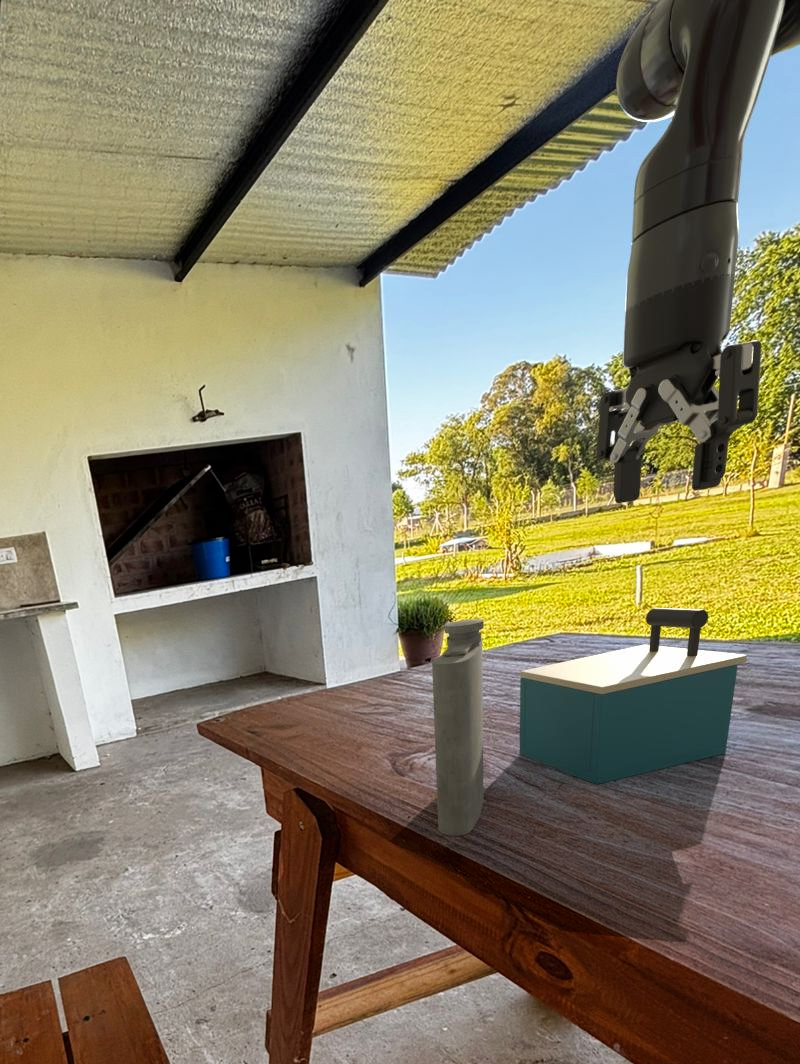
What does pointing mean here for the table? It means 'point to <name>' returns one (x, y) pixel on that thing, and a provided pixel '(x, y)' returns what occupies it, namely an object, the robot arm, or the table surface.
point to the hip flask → (459, 728)
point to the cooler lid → (640, 659)
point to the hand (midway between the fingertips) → (663, 495)
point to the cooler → (627, 725)
